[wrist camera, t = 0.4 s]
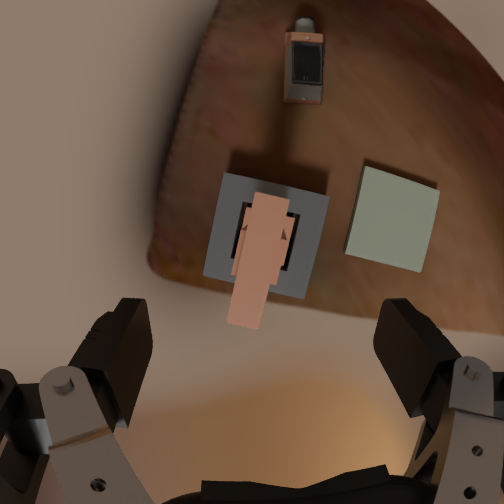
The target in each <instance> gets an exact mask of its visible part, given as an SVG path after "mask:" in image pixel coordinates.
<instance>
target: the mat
mask: <svg viewBox="0 0 504 504" xmlns="http://www.w3.org/2000/svg"><path fill="white" fill-rule="evenodd" d="M439 194H440V191H438V190H435V189H433V188H430V187H427V186H425V185H422V184H419V183H416V182H413V181H411V180H408V179H405V178H402V177H399V176H396V175H393V174H390V173H387V172H384V171H381V170H377V169H374V168H371V167H368V166H364V167H363V170H362V174H361V179H360V184H359V189H358V193H357V198H356V202H355V207H354V211H353V215H352V219H351V224H350V228H349V232H348V236H347V240H346V244H345V247H344V251H343V252H344V253H345V254H349V255H353V256H357V257H361V258H365V259H369V260H373V261H377V262H381V263H385V264H389V265H393V266H397V267H401V268H404V269H408V270H412V271H416V272H420V273H421V270H422V266H423V263H424V259H425V255H426V251H427V248H428V244H429V240H430V236H431V232H432V227H433V223H434V218H435V214H436V209H437V204H438V199H439Z"/></svg>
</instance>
